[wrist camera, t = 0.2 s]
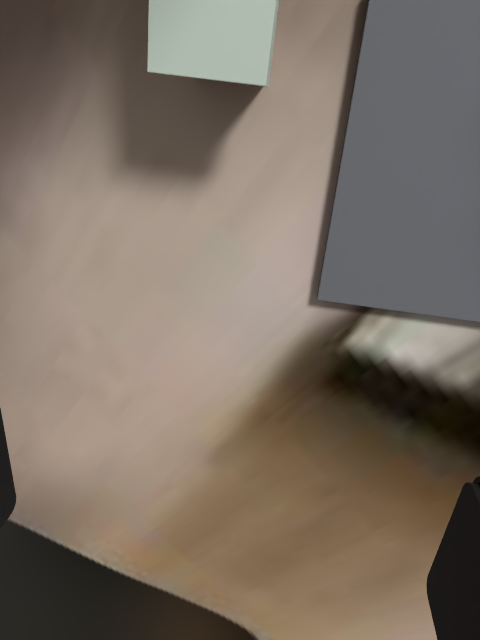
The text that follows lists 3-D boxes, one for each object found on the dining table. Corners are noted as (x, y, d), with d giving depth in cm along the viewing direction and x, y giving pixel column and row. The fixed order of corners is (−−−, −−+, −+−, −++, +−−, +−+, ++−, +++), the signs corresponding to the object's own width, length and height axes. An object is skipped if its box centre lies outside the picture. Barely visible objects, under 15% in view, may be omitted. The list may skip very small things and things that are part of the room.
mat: (370, -13, 30) (372, -16, 29) (631, 5, 28) (641, 2, 27) (317, 295, 39) (317, 299, 39) (509, 321, 38) (514, 326, 37)
